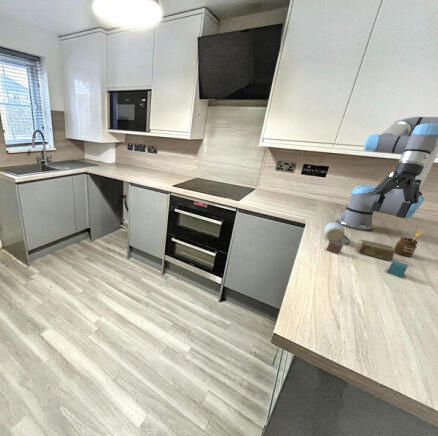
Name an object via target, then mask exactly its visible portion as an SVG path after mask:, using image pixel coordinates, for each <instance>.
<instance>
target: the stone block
mask: <svg viewBox="0 0 438 436" xmlns="http://www.w3.org/2000/svg"><path fill="white" fill-rule="evenodd" d="M394 248H395V247H393V246H391V245H387V244H384V243H380V242H374V241H370V240H366V239H360V240H359V242H358V245H357V252H358V253H359V254H362V255H366V256H370V257H373V258H378V259H382V260H387V261H392V260H393V258H394V255H395V254H396V253H395V250H394Z"/></svg>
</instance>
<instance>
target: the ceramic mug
mask: <svg viewBox="0 0 438 436" xmlns="http://www.w3.org/2000/svg"><path fill="white" fill-rule="evenodd" d="M324 235H325V237H326V239H327V240H329V242H330V241H332V240H334V241H337V242H340V241H341V242H342V243H343V244H350V243H351V242H352V240H351V239H350V237H348V236H347V235H346V234H345V226H344V225H341V224H340V223H338V222H336V221H335V222H330V223H329V222H328V224H326V225H325V226H324Z"/></svg>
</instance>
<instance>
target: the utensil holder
mask: <svg viewBox="0 0 438 436" xmlns="http://www.w3.org/2000/svg"><path fill="white" fill-rule="evenodd" d="M424 231H425V230H424V229H421V228H420V229H419V230H418V231H417V232H416V233H415V236H414V238H412V237H408V235H406V236H405V234H406V232H403V234H402V235H403V236H402V237H400V238H399V240H398V241H397V242H396V244H395V246H394V247H393V248H394V250H395V253H394V254H397V255H399V256H403V257H412V256H413V255H414V253H415V251H416V249H417V245H418V240H416V239H417V238H419V237H421V235H422V234H423V232H424ZM409 234H410V235H412V232H411V231H409Z"/></svg>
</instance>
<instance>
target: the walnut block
mask: <svg viewBox="0 0 438 436" xmlns="http://www.w3.org/2000/svg"><path fill="white" fill-rule="evenodd" d="M343 246H344V242H340V241H334V240H332V241H330V240H329V242H328V245H327V248H326V251H327V252H331V253H333V254H339V253H341V252H342V249H343Z"/></svg>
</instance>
